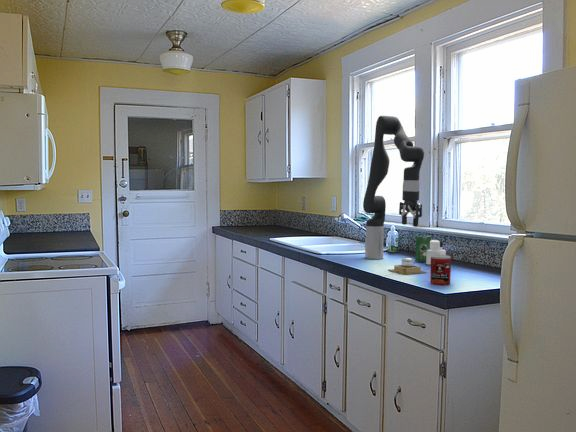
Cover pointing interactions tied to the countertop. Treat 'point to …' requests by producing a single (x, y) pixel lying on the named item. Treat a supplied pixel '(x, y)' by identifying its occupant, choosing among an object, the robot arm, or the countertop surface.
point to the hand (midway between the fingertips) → (409, 225)
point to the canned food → (440, 269)
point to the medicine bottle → (434, 250)
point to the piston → (407, 262)
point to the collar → (407, 270)
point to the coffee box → (422, 248)
